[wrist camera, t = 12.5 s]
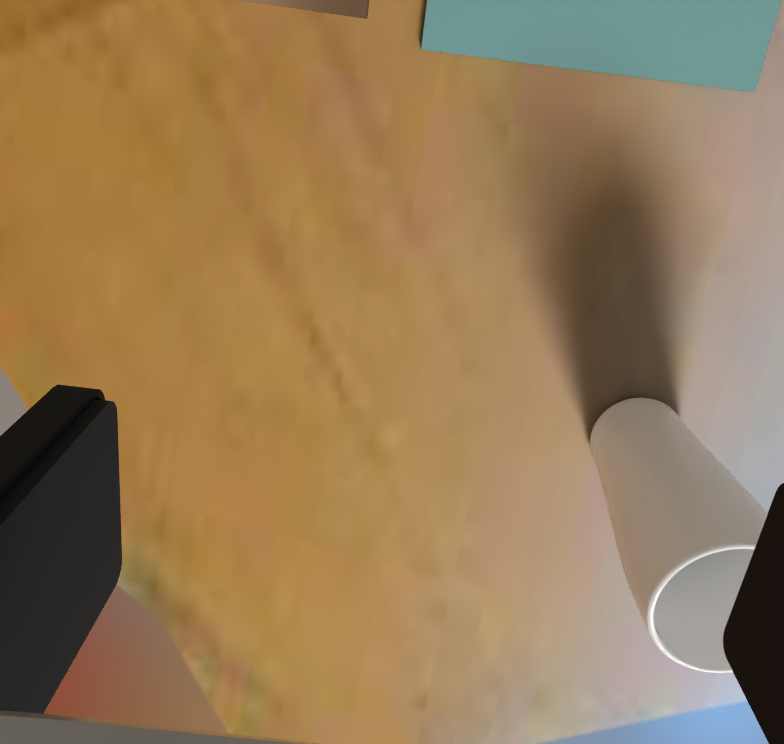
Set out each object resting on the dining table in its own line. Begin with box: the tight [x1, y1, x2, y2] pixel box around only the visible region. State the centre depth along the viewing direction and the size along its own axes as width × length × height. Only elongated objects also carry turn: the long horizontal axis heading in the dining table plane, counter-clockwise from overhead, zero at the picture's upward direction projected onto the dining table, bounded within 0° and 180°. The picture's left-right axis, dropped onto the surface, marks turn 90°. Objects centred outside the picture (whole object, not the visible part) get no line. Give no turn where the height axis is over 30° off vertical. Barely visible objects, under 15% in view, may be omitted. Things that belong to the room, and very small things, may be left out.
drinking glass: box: [590, 398, 768, 673], centre depth 37 cm, size 7×7×15 cm
